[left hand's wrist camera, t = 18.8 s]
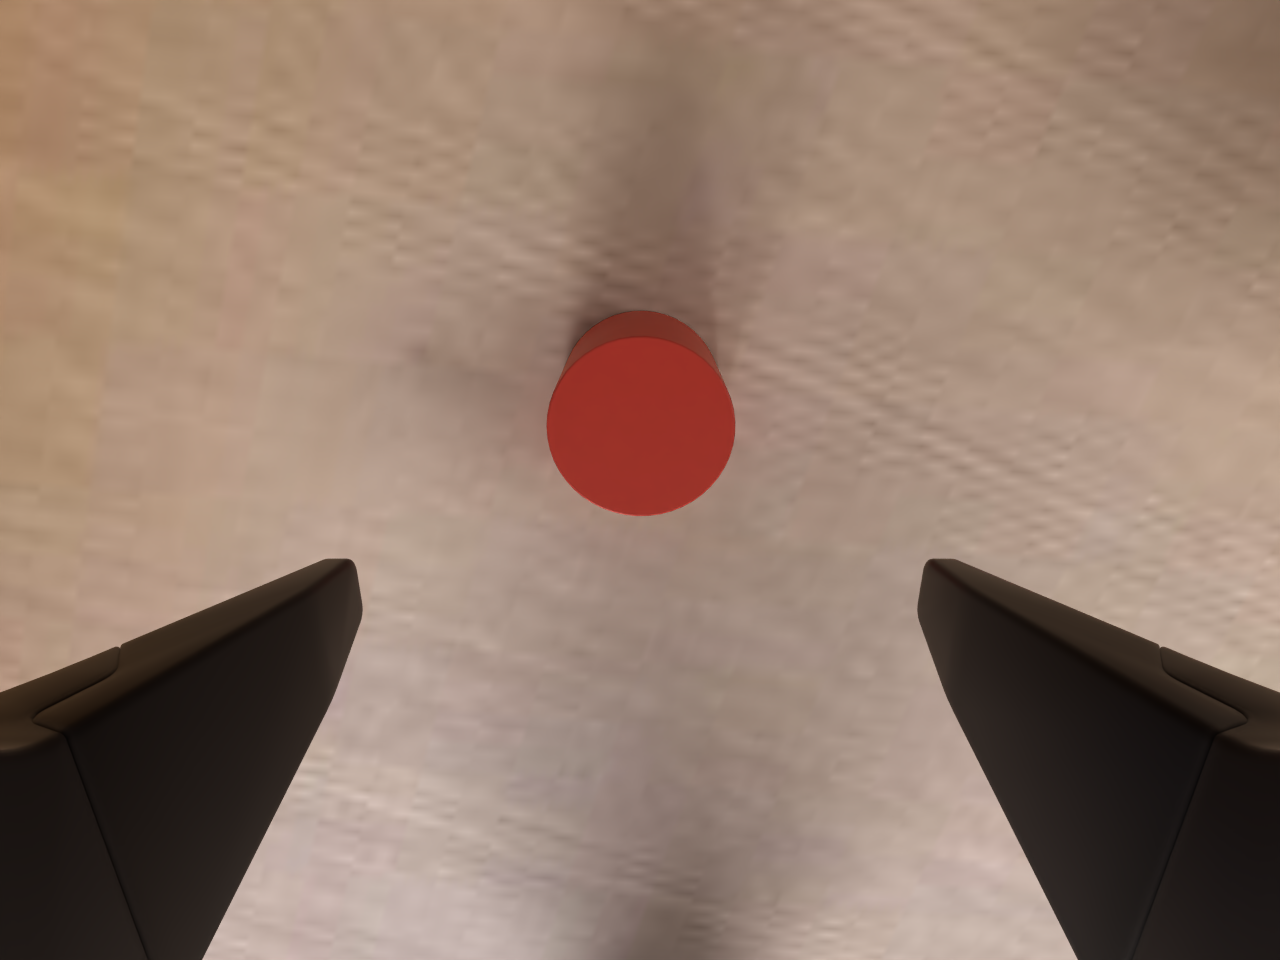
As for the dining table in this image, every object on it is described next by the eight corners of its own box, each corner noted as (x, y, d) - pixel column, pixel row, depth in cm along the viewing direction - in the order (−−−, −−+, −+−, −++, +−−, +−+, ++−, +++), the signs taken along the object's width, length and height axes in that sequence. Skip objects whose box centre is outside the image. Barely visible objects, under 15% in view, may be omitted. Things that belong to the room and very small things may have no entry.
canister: (584, 476, 24) (573, 532, 20) (544, 330, 22) (523, 359, 18) (731, 446, 23) (749, 496, 19) (703, 294, 21) (717, 316, 18)
